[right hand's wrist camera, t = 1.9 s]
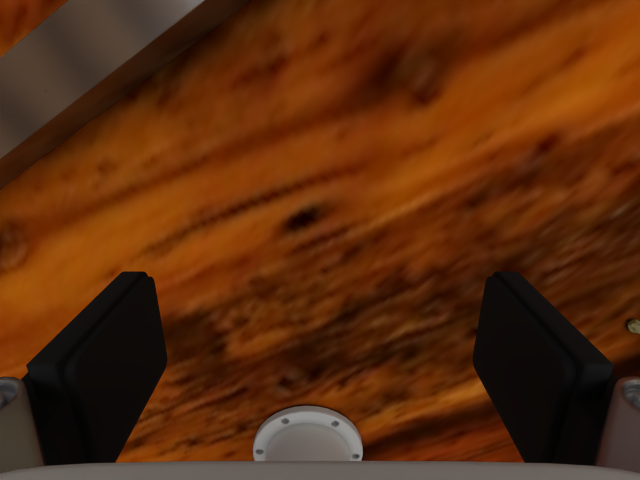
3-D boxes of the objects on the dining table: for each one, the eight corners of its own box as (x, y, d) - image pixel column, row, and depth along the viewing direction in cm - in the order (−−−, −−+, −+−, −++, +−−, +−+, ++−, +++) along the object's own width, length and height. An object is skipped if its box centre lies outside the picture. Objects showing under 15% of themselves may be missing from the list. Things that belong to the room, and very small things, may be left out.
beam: (-122, 280, 39) (-208, 320, 33) (-163, 244, 38) (-262, 278, 31) (530, -210, 26) (599, -305, 19) (503, -293, 24) (568, -425, 18)
